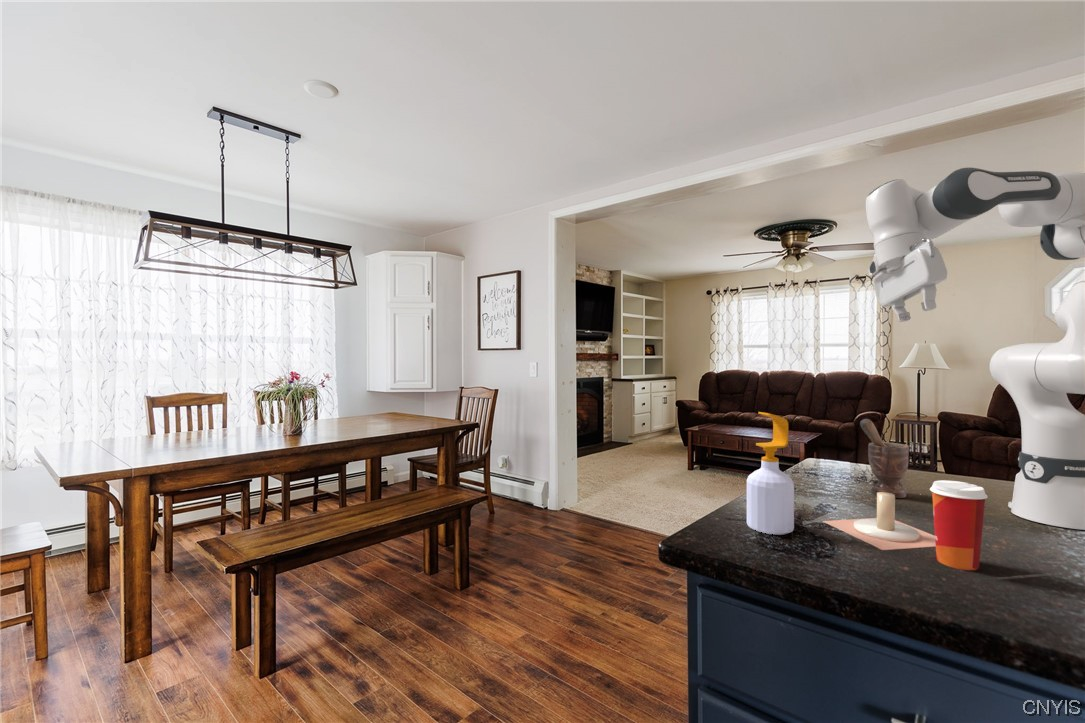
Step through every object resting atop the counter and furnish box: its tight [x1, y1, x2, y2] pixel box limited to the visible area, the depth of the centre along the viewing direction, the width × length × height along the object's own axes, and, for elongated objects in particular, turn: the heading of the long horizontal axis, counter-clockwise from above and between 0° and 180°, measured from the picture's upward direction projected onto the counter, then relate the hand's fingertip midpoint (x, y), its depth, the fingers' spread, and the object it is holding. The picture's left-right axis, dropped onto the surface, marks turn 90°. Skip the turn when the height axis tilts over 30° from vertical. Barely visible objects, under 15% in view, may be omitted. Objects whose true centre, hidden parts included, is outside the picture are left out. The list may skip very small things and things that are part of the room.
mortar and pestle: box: [859, 418, 910, 499], centre depth 128 cm, size 12×9×20 cm
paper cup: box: [929, 479, 988, 571], centre depth 86 cm, size 8×8×14 cm
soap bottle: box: [746, 411, 795, 536], centre depth 105 cm, size 9×9×25 cm
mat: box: [822, 517, 936, 551], centre depth 101 cm, size 16×16×1 cm
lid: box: [854, 492, 919, 542], centre depth 101 cm, size 11×11×8 cm
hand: (916, 315), depth 104 cm, fingers open, 8 cm apart
